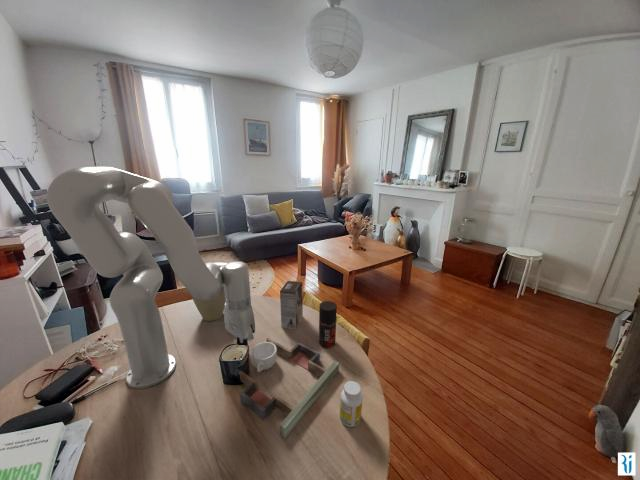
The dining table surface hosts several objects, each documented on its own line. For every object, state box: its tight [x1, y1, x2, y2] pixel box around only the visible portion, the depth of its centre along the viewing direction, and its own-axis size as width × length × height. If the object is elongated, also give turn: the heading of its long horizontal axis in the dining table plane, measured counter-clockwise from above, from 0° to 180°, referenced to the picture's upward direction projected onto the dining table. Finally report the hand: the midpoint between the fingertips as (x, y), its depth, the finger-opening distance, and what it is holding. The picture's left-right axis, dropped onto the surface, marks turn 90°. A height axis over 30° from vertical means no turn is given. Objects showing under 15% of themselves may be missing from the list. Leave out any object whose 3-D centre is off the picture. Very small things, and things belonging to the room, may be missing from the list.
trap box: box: [239, 337, 340, 439], centre depth 76 cm, size 26×25×3 cm
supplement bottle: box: [339, 380, 363, 428], centre depth 63 cm, size 5×5×10 cm
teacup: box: [251, 341, 278, 373], centre depth 79 cm, size 10×8×5 cm
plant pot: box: [190, 285, 226, 322], centre depth 103 cm, size 15×15×16 cm
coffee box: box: [279, 280, 304, 330], centre depth 100 cm, size 9×6×16 cm
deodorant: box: [318, 300, 338, 349], centre depth 89 cm, size 6×6×15 cm
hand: (242, 349), depth 85 cm, fingers closed
